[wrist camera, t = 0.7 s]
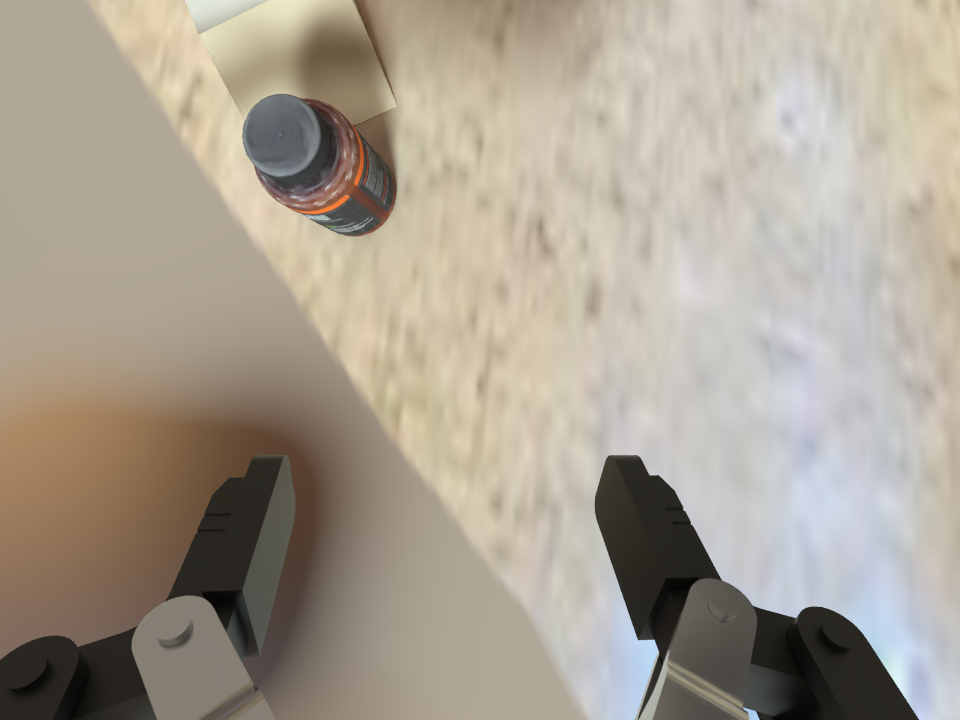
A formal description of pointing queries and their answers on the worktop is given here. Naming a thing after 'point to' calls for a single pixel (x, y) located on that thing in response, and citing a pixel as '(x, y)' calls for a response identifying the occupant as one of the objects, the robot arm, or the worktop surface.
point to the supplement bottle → (318, 164)
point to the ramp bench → (294, 53)
